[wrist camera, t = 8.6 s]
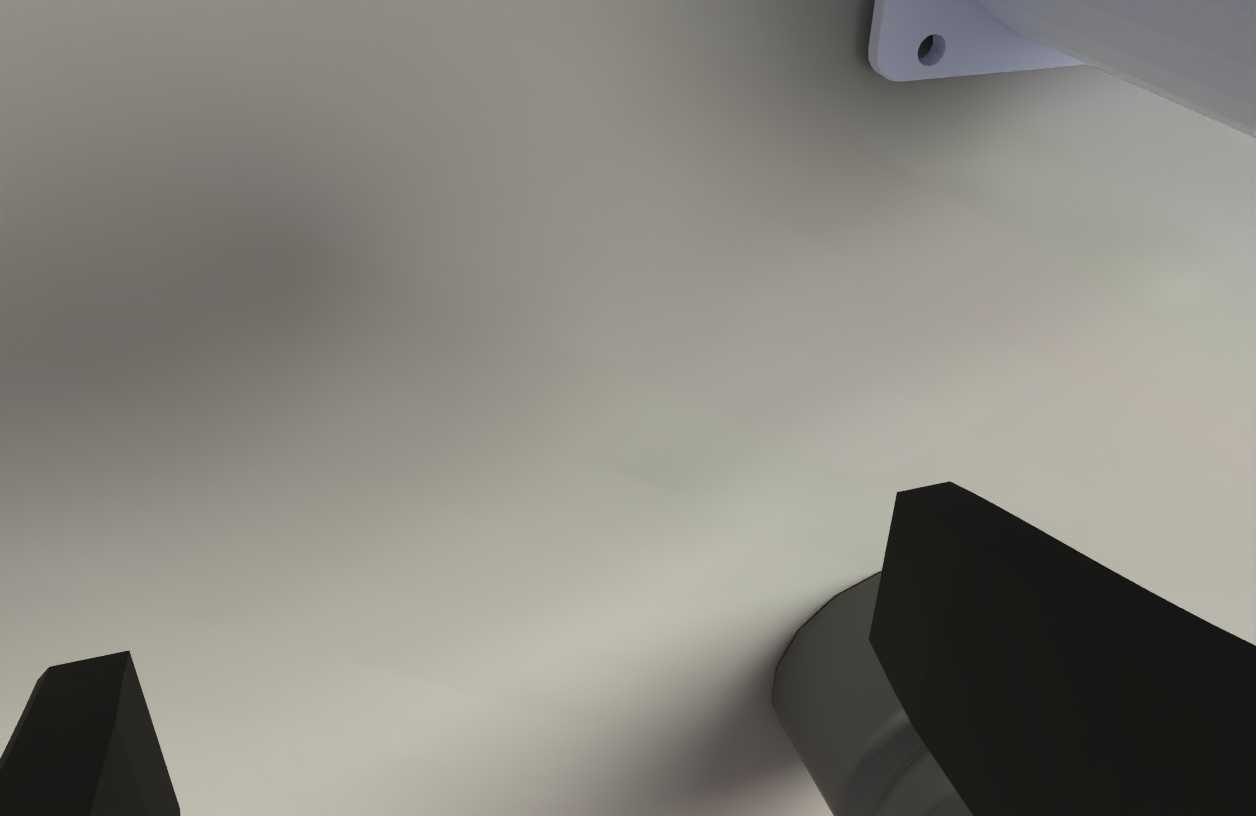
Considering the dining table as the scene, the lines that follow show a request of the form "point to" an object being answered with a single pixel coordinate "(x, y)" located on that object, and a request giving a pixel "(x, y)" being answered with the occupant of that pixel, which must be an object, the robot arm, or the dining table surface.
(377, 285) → the dining table surface
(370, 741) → the dining table surface
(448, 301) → the dining table surface
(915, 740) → the candle holder
